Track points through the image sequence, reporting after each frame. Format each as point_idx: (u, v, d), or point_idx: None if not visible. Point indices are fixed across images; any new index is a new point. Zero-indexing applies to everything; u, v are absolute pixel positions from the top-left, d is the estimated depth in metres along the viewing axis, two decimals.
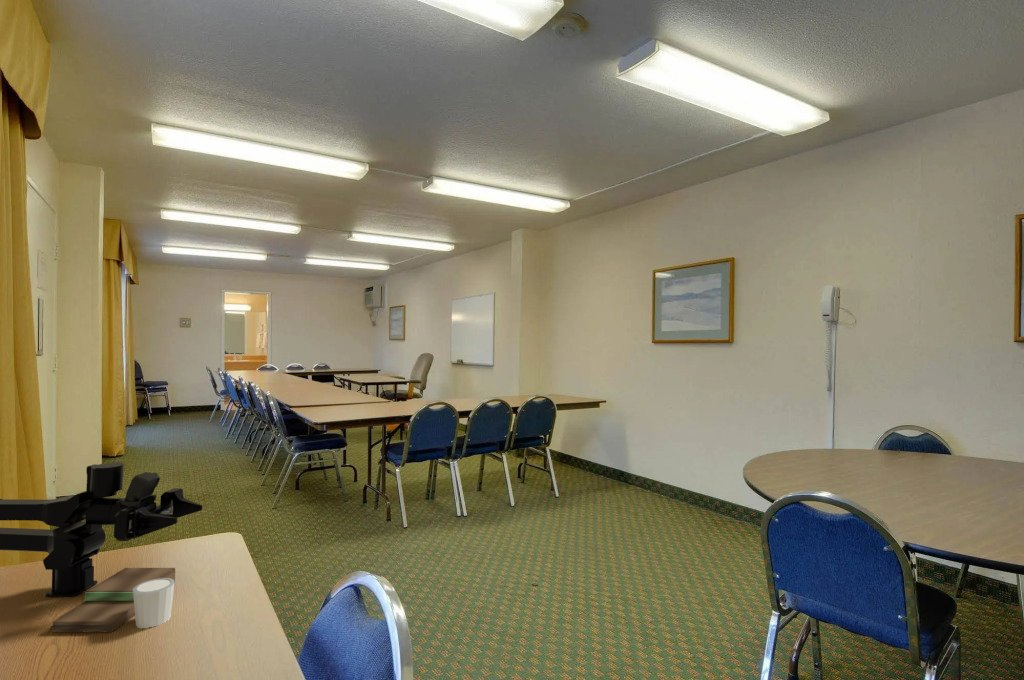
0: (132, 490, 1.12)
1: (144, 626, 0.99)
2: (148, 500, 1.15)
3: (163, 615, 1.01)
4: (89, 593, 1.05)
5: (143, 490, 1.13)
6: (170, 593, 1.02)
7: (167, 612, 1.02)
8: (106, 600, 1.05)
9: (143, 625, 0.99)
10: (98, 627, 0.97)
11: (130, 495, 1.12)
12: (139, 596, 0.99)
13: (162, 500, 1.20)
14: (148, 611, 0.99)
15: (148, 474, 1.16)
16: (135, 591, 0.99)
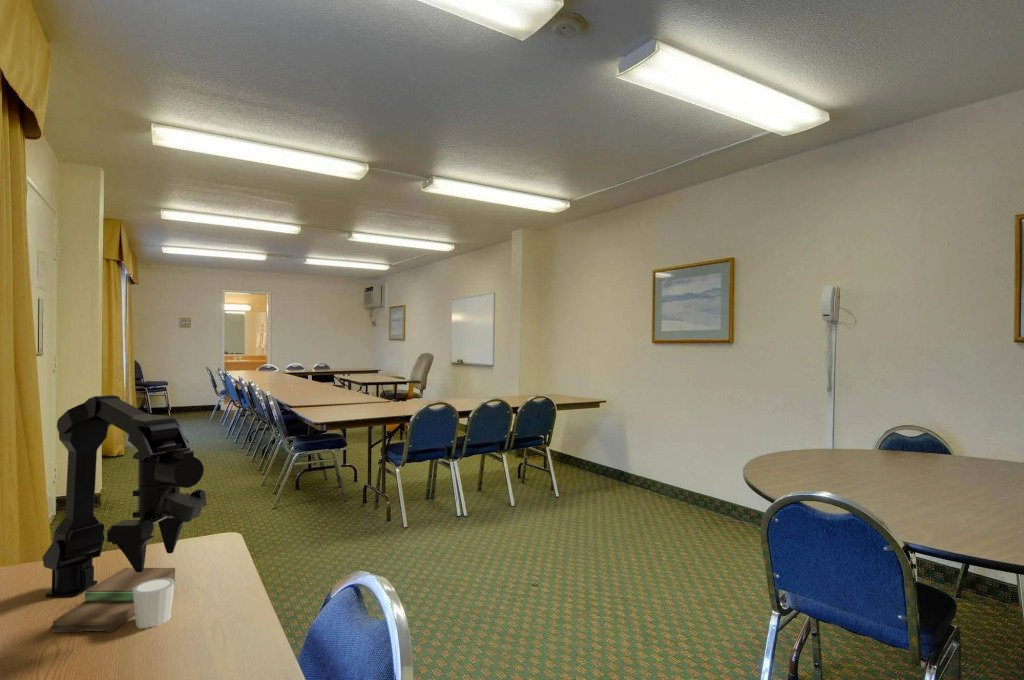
0: (176, 507, 1.00)
1: (144, 626, 0.99)
2: None
3: (163, 615, 1.01)
4: (89, 593, 1.05)
5: None
6: (170, 593, 1.02)
7: (167, 612, 1.02)
8: (106, 600, 1.05)
9: (143, 625, 0.99)
10: (98, 627, 0.97)
11: (170, 506, 1.00)
12: (139, 596, 0.99)
13: None
14: (148, 611, 0.99)
15: (200, 507, 1.04)
16: (135, 591, 0.99)
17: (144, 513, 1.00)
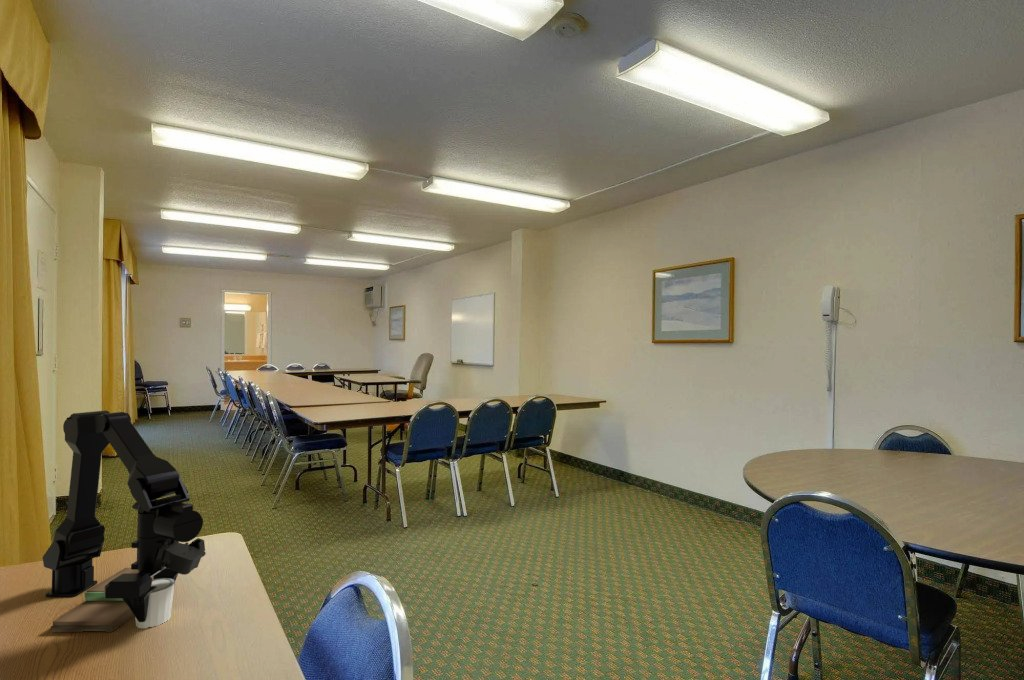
0: (175, 560, 1.00)
1: (144, 626, 0.99)
2: None
3: (163, 615, 1.01)
4: (89, 593, 1.05)
5: None
6: (170, 593, 1.02)
7: (167, 612, 1.02)
8: (106, 600, 1.05)
9: (143, 625, 0.99)
10: (98, 627, 0.97)
11: (169, 558, 1.00)
12: None
13: None
14: (148, 611, 0.99)
15: (199, 558, 1.03)
16: None
17: (143, 565, 0.99)
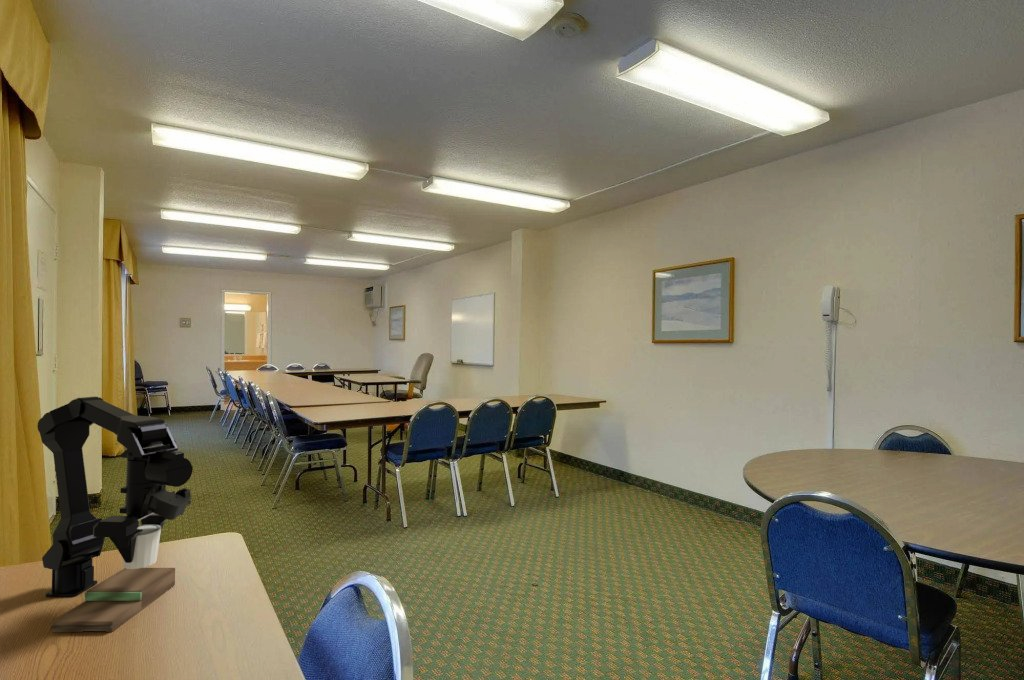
0: (161, 505, 1.05)
1: (131, 567, 1.05)
2: None
3: (149, 558, 1.06)
4: (89, 593, 1.05)
5: None
6: (156, 538, 1.08)
7: (153, 555, 1.07)
8: (106, 600, 1.05)
9: (130, 566, 1.05)
10: (98, 627, 0.97)
11: (155, 504, 1.05)
12: None
13: None
14: (135, 553, 1.05)
15: (184, 506, 1.09)
16: None
17: (130, 509, 1.05)
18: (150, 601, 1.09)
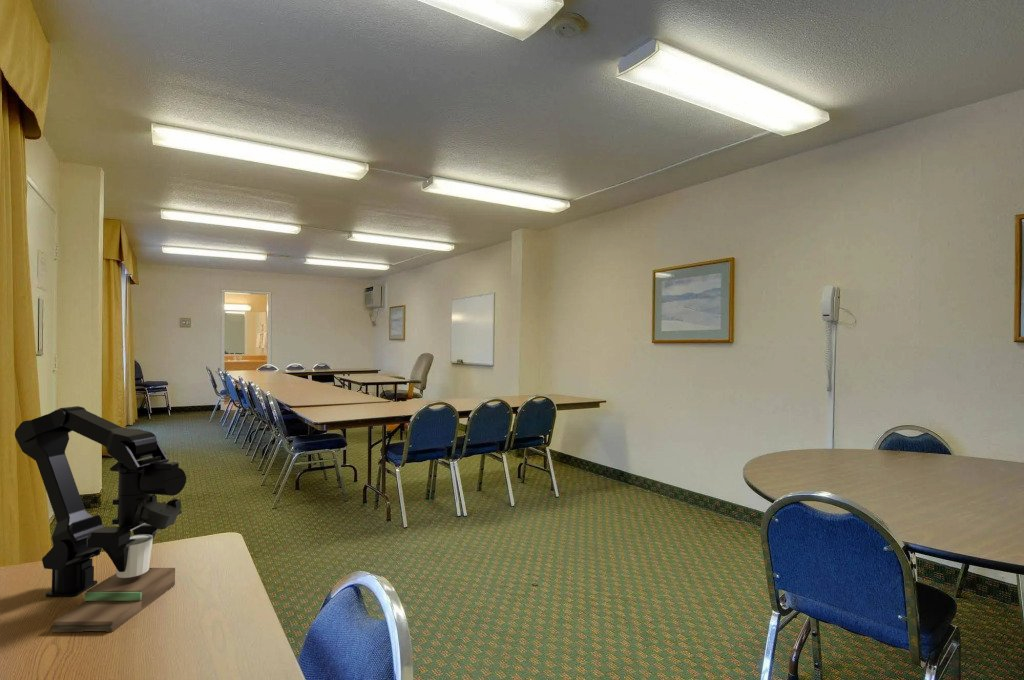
0: (152, 516, 1.09)
1: (124, 575, 1.08)
2: None
3: (142, 566, 1.10)
4: (89, 593, 1.05)
5: None
6: (148, 547, 1.11)
7: (145, 564, 1.11)
8: (106, 600, 1.05)
9: (123, 575, 1.08)
10: (98, 627, 0.97)
11: (147, 514, 1.09)
12: None
13: None
14: (128, 562, 1.08)
15: (175, 515, 1.12)
16: None
17: (123, 520, 1.08)
18: (150, 601, 1.09)
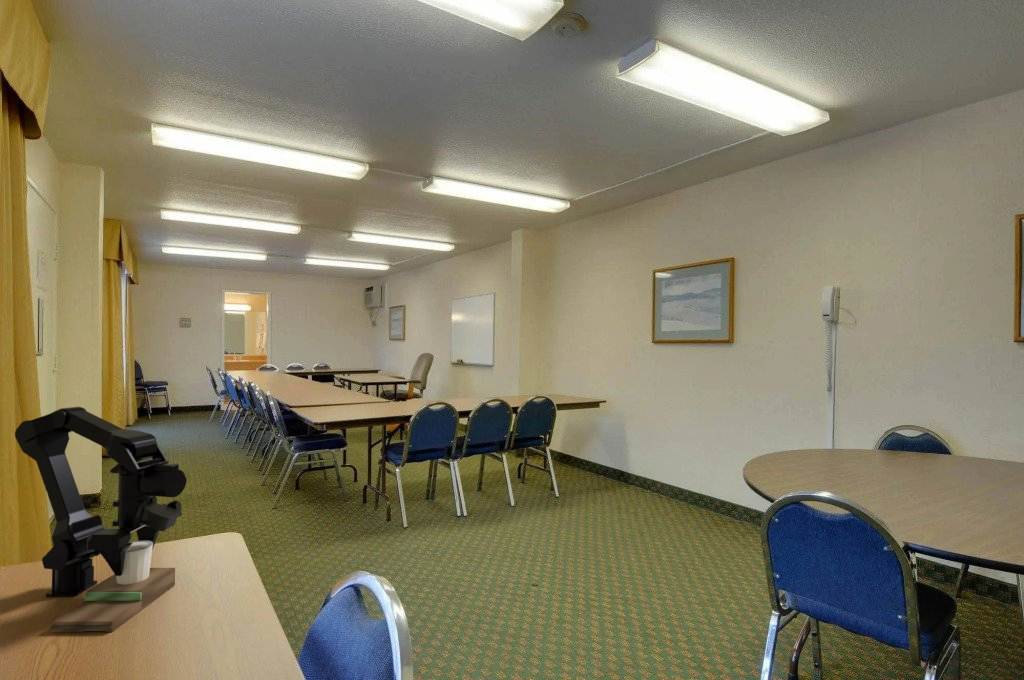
0: (152, 518, 1.09)
1: (124, 582, 1.08)
2: None
3: (142, 573, 1.10)
4: (89, 593, 1.05)
5: None
6: (148, 553, 1.11)
7: (145, 570, 1.11)
8: (106, 600, 1.05)
9: (123, 581, 1.08)
10: (98, 627, 0.97)
11: (147, 516, 1.09)
12: None
13: None
14: (128, 568, 1.08)
15: (175, 517, 1.12)
16: None
17: (123, 522, 1.08)
18: (150, 601, 1.09)
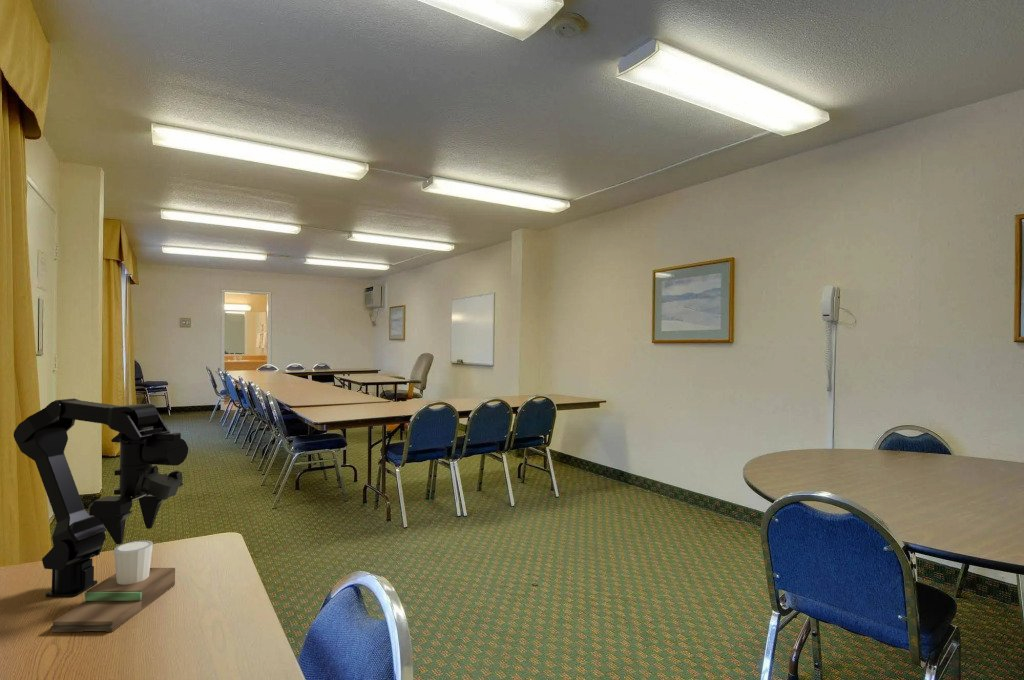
0: (154, 486, 1.10)
1: (124, 582, 1.08)
2: None
3: (142, 573, 1.10)
4: (89, 593, 1.05)
5: None
6: (148, 553, 1.11)
7: (145, 570, 1.11)
8: (106, 600, 1.05)
9: (123, 581, 1.08)
10: (98, 627, 0.97)
11: (148, 485, 1.09)
12: (119, 555, 1.08)
13: None
14: (128, 568, 1.08)
15: (176, 487, 1.13)
16: (116, 550, 1.09)
17: (124, 490, 1.09)
18: (150, 601, 1.09)
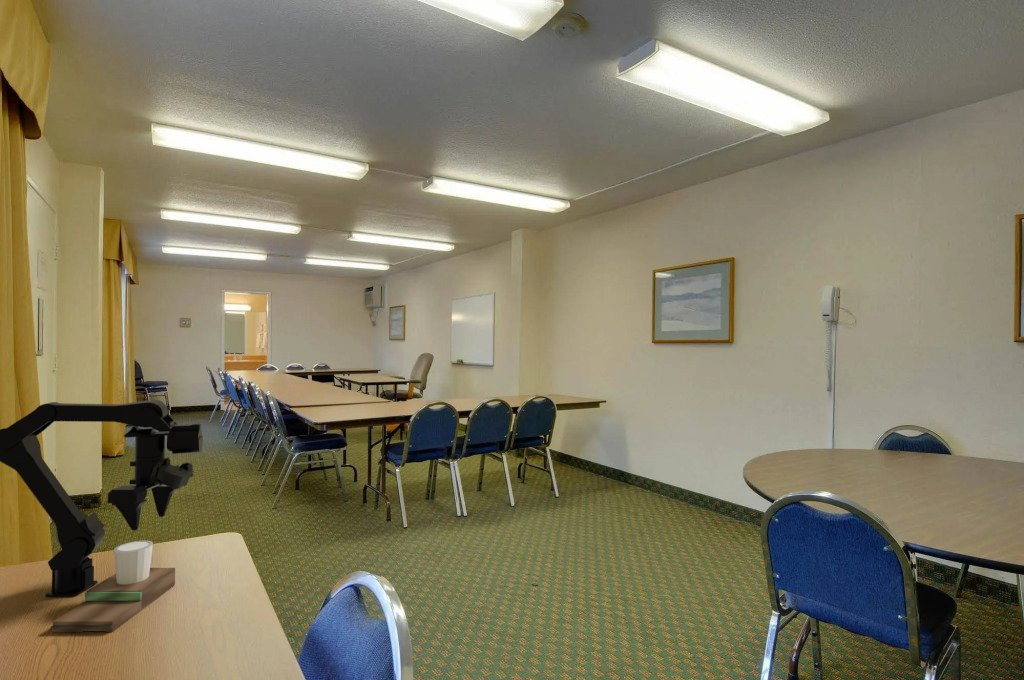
0: (167, 476, 1.18)
1: (124, 582, 1.08)
2: None
3: (142, 573, 1.10)
4: (89, 593, 1.05)
5: None
6: (148, 553, 1.11)
7: (145, 570, 1.11)
8: (106, 600, 1.05)
9: (123, 581, 1.08)
10: (98, 627, 0.97)
11: (162, 475, 1.18)
12: (119, 555, 1.08)
13: None
14: (128, 568, 1.08)
15: (188, 477, 1.21)
16: (116, 550, 1.09)
17: (139, 480, 1.17)
18: (150, 601, 1.09)
